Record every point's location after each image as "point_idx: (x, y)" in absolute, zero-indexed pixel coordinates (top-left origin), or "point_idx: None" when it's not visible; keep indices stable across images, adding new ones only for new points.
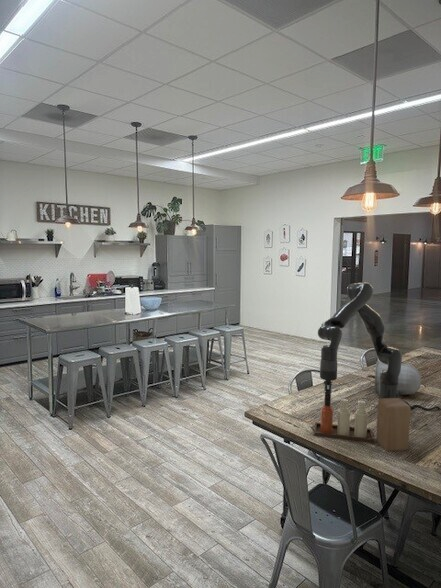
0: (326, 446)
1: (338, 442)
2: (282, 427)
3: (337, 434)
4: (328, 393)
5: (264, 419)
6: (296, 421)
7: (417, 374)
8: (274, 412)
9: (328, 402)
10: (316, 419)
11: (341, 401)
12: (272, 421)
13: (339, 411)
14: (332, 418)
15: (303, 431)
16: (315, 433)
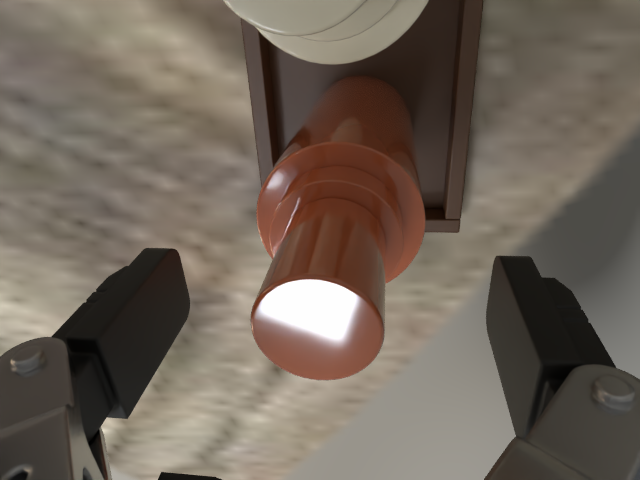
0: (628, 117)
1: (536, 6)
2: (364, 395)
3: (464, 24)
4: (128, 336)
5: (291, 470)
6: (243, 328)
7: None
8: (175, 433)
9: (584, 331)
10: (145, 206)
11: (340, 20)
12: (300, 439)
13: (383, 36)
14: (373, 114)
15: (386, 286)
16: (459, 219)
